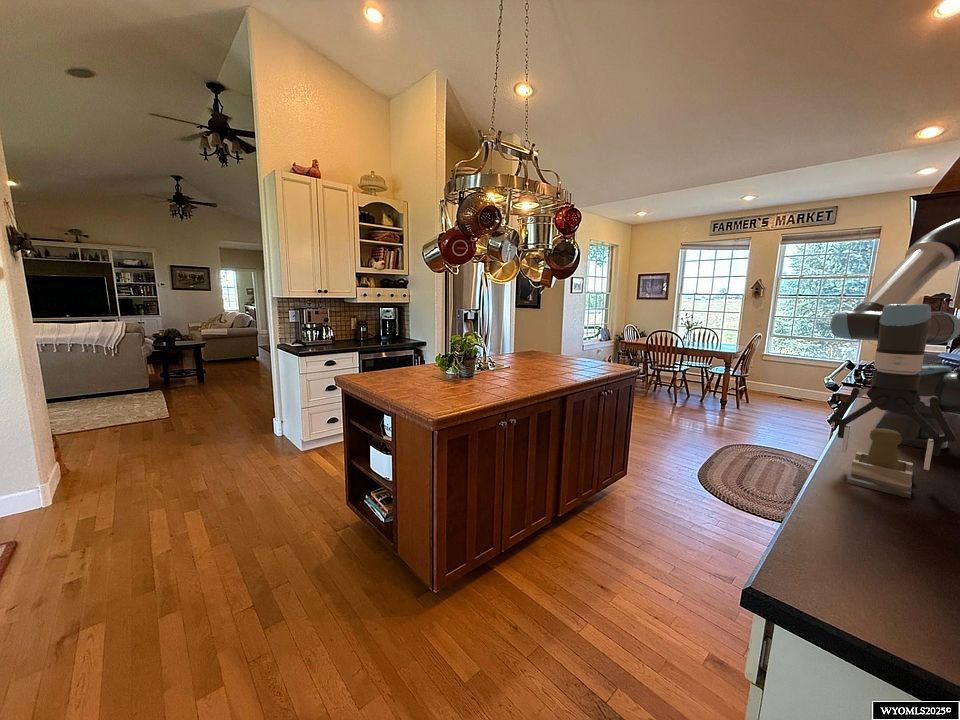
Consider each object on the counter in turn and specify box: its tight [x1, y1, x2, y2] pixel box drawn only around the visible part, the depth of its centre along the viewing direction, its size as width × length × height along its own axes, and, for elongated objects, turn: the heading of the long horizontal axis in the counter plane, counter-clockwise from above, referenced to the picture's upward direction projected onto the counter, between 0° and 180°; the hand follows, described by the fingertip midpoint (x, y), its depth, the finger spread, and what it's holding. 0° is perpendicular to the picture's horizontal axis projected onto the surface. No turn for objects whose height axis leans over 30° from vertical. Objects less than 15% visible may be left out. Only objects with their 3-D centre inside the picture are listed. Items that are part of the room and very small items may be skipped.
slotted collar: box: [846, 451, 914, 499], centre depth 92 cm, size 18×10×4 cm, turn 131°
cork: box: [865, 428, 902, 471], centre depth 92 cm, size 6×6×11 cm
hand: (883, 459), depth 92 cm, fingers open, 13 cm apart
